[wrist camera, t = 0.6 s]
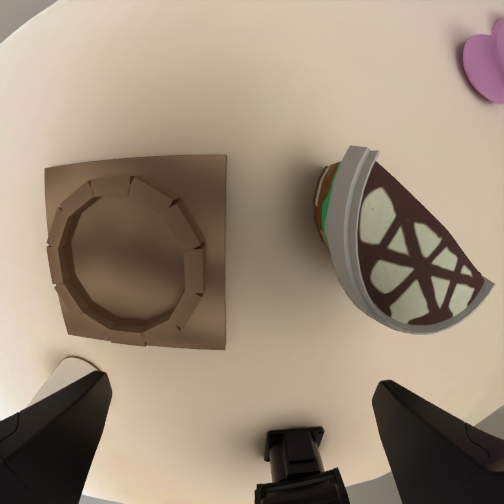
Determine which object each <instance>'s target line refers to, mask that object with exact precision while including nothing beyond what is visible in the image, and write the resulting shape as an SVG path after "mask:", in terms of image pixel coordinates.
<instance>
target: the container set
mask: <svg viewBox="0 0 504 504" xmlns="http://www.w3.org/2000/svg"><path fill="white" fill-rule="evenodd" d="M463 67H464V70H465V73H466V75H467V77H468V79H469V81H470V83H471V84H472V85H473V87H474V88H475V89H476V90H477V91H478V92H479V93H481V94H482V95H483V96H484V97H486V98H487V99H489V100H490V101H492V102H494V103H498V104H504V18H503V19H501V20H498V21H496V22H495V23H494V25H493V28H492V36H490V35H484V34H480V35H475V36H473V37H471V38H470V39H468V41H467V42H466V44H465V46H464V50H463Z"/></svg>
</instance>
